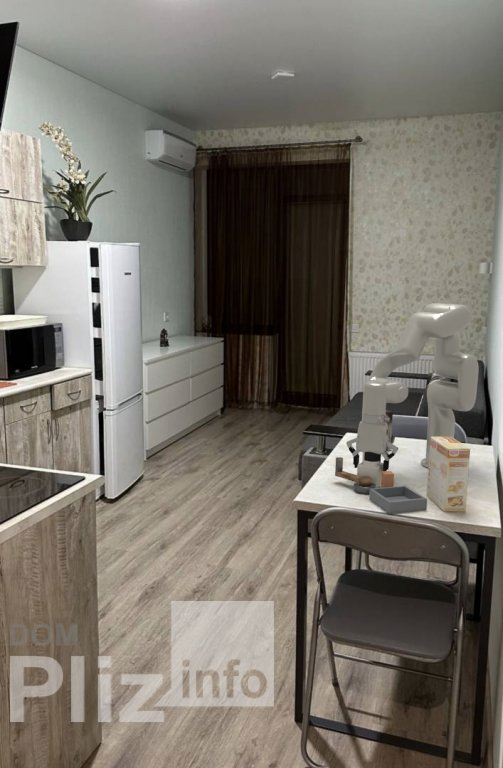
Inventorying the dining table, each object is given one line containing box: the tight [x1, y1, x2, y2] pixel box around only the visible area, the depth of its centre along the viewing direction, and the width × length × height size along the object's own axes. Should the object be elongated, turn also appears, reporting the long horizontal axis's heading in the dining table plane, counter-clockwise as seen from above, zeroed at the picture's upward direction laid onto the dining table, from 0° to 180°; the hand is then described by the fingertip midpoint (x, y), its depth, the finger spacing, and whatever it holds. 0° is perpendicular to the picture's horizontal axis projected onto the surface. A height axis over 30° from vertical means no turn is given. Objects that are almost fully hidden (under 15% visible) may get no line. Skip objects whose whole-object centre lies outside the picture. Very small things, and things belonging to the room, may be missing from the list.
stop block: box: [380, 470, 395, 488], centre depth 207 cm, size 3×3×7 cm
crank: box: [334, 456, 371, 486], centre depth 212 cm, size 14×4×6 cm, turn 42°
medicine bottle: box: [356, 452, 383, 488], centre depth 215 cm, size 7×7×12 cm
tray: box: [368, 485, 428, 515], centre depth 197 cm, size 13×13×4 cm
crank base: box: [353, 482, 376, 496], centre depth 209 cm, size 7×7×2 cm
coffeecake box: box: [426, 437, 471, 513], centre depth 198 cm, size 15×7×20 cm, turn 5°
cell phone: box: [391, 434, 396, 445], centre depth 277 cm, size 7×14×1 cm, turn 164°
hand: (370, 469), depth 215 cm, fingers open, 9 cm apart
